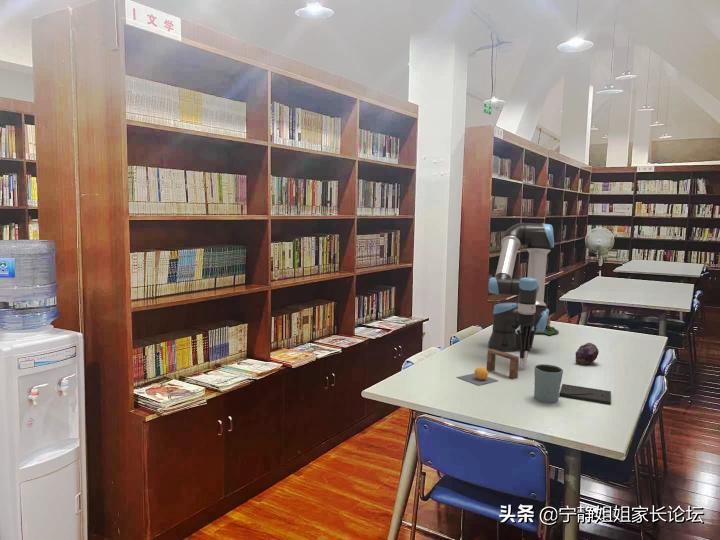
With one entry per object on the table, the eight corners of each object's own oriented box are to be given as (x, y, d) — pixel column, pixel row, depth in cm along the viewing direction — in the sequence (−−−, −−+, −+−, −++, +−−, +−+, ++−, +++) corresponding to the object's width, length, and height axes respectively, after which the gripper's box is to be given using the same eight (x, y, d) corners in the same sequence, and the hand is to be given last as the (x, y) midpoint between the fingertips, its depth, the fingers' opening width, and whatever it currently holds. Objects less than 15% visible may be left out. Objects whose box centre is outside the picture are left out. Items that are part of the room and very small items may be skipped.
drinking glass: (540, 392, 208) (542, 362, 206) (565, 399, 201) (568, 368, 199) (527, 398, 201) (529, 367, 199) (553, 406, 193) (555, 373, 192)
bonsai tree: (517, 325, 333) (520, 274, 330) (559, 329, 324) (563, 277, 320) (510, 336, 301) (514, 281, 298) (556, 341, 292) (560, 284, 288)
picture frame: (559, 398, 204) (610, 406, 196) (559, 392, 204) (610, 401, 196) (562, 388, 216) (610, 396, 208) (562, 383, 216) (611, 390, 208)
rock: (571, 366, 251) (595, 370, 244) (571, 348, 249) (595, 351, 242) (579, 357, 260) (602, 360, 253) (579, 339, 258) (602, 342, 251)
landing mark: (456, 377, 224) (456, 377, 224) (476, 373, 230) (476, 372, 230) (478, 385, 214) (478, 385, 214) (498, 381, 221) (498, 380, 221)
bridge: (512, 379, 224) (514, 357, 223) (486, 370, 236) (487, 349, 235) (517, 377, 226) (519, 356, 225) (491, 369, 237) (492, 348, 236)
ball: (471, 367, 222) (480, 363, 225) (472, 380, 222) (480, 376, 226) (481, 370, 217) (490, 366, 220) (482, 383, 218) (491, 379, 221)
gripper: (523, 315, 229) (520, 369, 232) (542, 313, 236) (539, 365, 239) (509, 312, 235) (506, 364, 238) (528, 310, 243) (525, 360, 245)
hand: (523, 364), depth 238 cm, fingers closed
